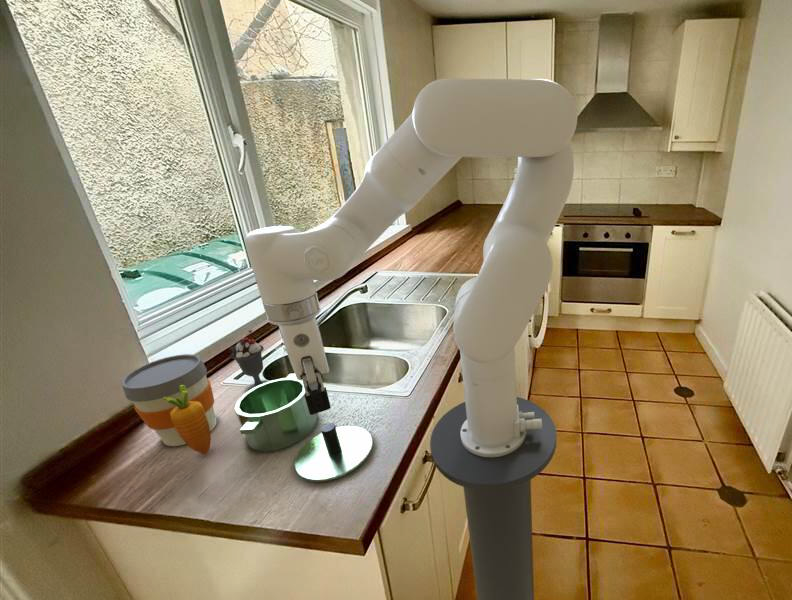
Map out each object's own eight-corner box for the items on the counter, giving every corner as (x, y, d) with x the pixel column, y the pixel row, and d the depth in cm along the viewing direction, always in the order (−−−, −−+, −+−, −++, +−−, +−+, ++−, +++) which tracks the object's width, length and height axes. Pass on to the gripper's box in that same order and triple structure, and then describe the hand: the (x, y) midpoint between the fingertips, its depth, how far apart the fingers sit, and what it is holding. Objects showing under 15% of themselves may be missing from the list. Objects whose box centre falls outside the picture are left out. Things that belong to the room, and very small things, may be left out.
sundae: (281, 381, 98) (264, 327, 92) (258, 397, 92) (238, 341, 86) (261, 377, 100) (242, 325, 94) (237, 393, 94) (216, 338, 88)
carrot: (199, 466, 73) (168, 400, 67) (184, 458, 75) (152, 394, 69) (226, 448, 77) (199, 384, 71) (211, 441, 79) (184, 379, 73)
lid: (381, 428, 80) (376, 402, 78) (359, 482, 68) (352, 453, 65) (315, 431, 80) (307, 405, 78) (281, 486, 68) (270, 457, 65)
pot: (331, 400, 90) (322, 369, 86) (292, 460, 73) (280, 424, 70) (276, 403, 89) (265, 372, 86) (225, 464, 73) (209, 428, 70)
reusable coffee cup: (220, 403, 90) (197, 347, 84) (232, 429, 82) (207, 368, 76) (149, 431, 82) (118, 371, 76) (154, 463, 74) (120, 398, 68)
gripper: (326, 320, 56) (348, 415, 63) (312, 285, 70) (331, 367, 77) (267, 334, 53) (297, 433, 60) (264, 294, 67) (289, 379, 73)
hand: (316, 395), depth 68 cm, fingers open, 9 cm apart
